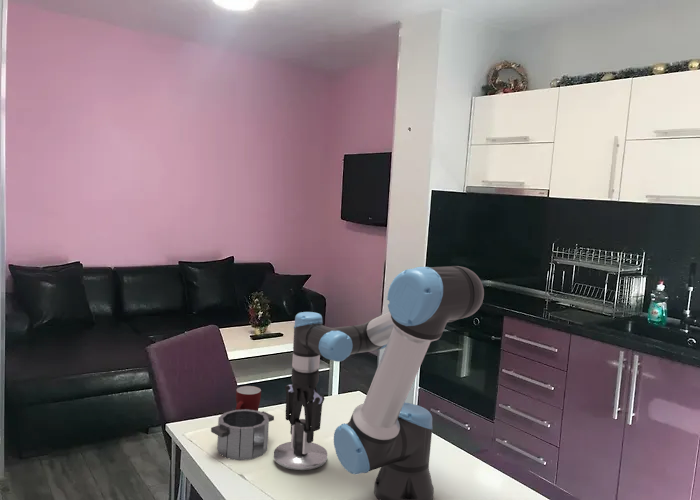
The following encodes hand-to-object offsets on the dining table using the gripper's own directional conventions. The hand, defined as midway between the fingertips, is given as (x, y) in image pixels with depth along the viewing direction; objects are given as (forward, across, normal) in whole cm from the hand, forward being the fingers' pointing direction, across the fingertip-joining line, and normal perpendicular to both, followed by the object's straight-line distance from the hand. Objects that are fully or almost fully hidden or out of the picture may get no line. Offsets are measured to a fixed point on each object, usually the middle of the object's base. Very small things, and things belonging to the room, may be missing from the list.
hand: (300, 449), depth 160 cm
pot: (+4, +17, +7) cm, 19 cm away
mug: (+4, +32, -6) cm, 33 cm away
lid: (+4, 0, 0) cm, 4 cm away
